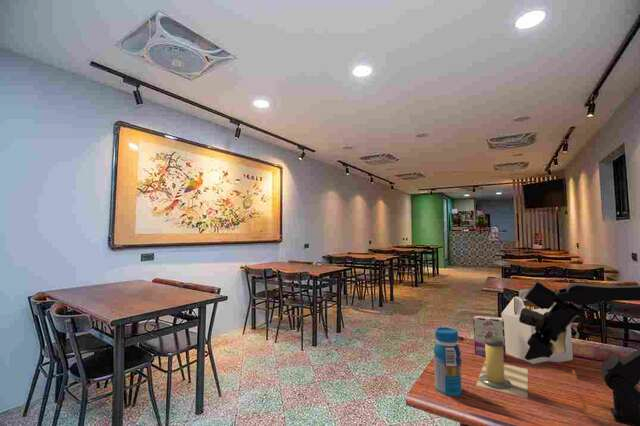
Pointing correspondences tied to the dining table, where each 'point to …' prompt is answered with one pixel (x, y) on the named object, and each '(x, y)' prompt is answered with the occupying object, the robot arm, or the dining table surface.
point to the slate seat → (497, 386)
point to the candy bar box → (487, 332)
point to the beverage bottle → (447, 362)
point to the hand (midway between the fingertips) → (529, 351)
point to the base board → (512, 374)
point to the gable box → (521, 333)
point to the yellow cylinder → (494, 360)
